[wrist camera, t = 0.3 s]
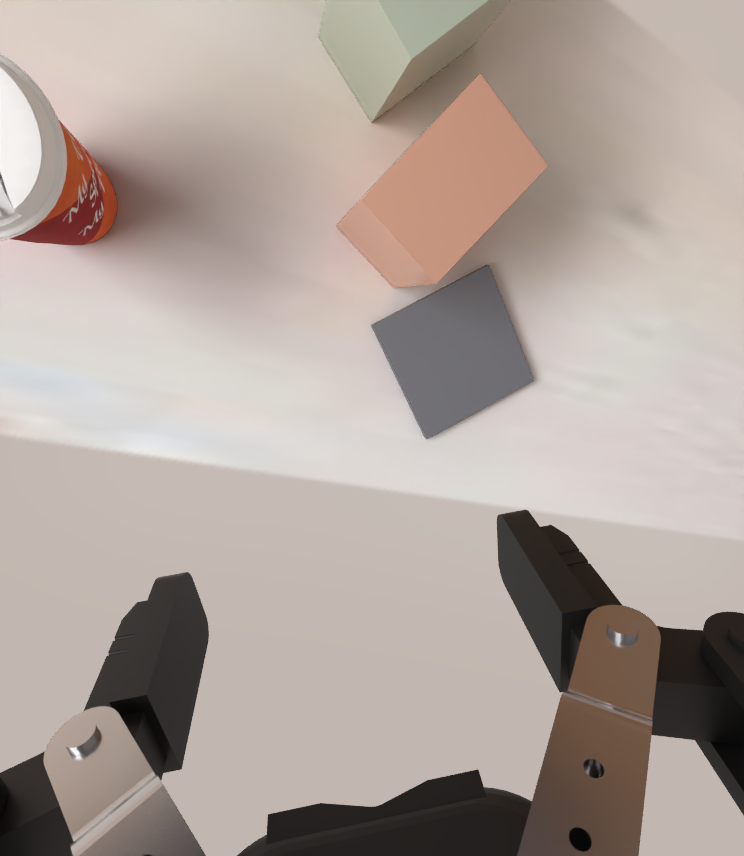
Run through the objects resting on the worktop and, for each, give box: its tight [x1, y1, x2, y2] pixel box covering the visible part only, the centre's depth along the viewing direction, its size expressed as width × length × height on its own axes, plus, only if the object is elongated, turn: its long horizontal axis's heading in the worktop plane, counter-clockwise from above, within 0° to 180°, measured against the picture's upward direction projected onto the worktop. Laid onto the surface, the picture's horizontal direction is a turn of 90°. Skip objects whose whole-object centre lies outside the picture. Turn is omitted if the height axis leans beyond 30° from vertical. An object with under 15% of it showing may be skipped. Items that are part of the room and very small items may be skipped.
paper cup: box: [0, 54, 117, 245], centre depth 27 cm, size 8×8×14 cm
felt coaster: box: [371, 265, 534, 439], centre depth 41 cm, size 10×10×1 cm
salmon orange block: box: [336, 74, 548, 288], centre depth 33 cm, size 9×6×10 cm, turn 135°
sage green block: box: [318, 0, 511, 123], centre depth 30 cm, size 9×6×10 cm, turn 126°
